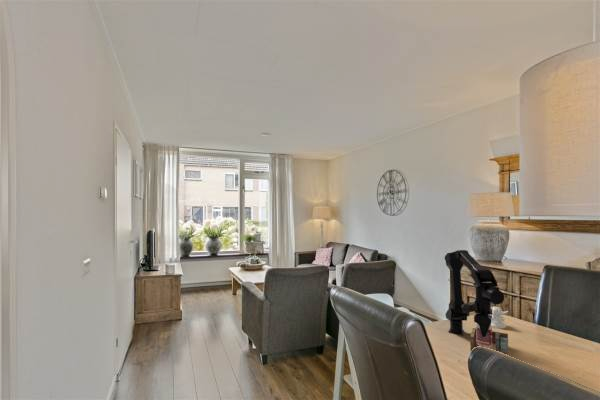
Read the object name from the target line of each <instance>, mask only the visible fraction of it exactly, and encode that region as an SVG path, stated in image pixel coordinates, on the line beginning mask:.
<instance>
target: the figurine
mask: <svg viewBox="0 0 600 400" xmlns="http://www.w3.org/2000/svg"><path fill="white" fill-rule="evenodd" d="M491 308H492V318H491V326H492V328H495V329H505V328H507V325H506V323H505V322H504V321H505V318H504V316H503V315H506V314H508V312H509V310H506V311H503V309H502V308H501V307H500V306H491ZM488 315H489V314H488Z"/></svg>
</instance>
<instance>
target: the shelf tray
mask: <svg viewBox="0 0 600 400" xmlns="http://www.w3.org/2000/svg"><path fill="white" fill-rule="evenodd" d="M470 332H471V333H470V337H469V340H470V341H469V342H470V351H473V350H472V349H473V348H474V347H477V346H479V345H477V343H476V327H475V328H474V327H473V328H471V331H470ZM492 342H493V346H492V347H489V348H490V349H493V350H496V351H499V352H502V353H504V354H507V355H509V333H506V332H499V331H494V330H492Z"/></svg>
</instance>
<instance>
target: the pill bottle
mask: <svg viewBox="0 0 600 400" xmlns="http://www.w3.org/2000/svg"><path fill="white" fill-rule="evenodd" d="M475 329H476V343H477V345H479V346H481V347H486V348H489V347H492V346H493V342H492V331H493V327H492V326H491V325H490V327H489V329H488V332H487V334H486V336H485V337H482V334H481V330H480V327H479V324H477V323H476V324H475Z"/></svg>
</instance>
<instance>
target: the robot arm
mask: <svg viewBox="0 0 600 400" xmlns="http://www.w3.org/2000/svg"><path fill="white" fill-rule="evenodd" d="M444 261H445V265H446V267H447V268H448V269H449V276H450V291H451V300H450V301H449V303H448V309H447V310H446V312H445V318H446V319H447V320H448V321H449V329H448V333H450V332H451V334H458V335H464V332H465V330H464V329H463V321H467V320H468V315H469V313H472V312H474V313H475V314H474V316H473V322H474V323H476V324H479V327H480V330H481V334H482V337H485V336H486V334H487V332H488V329H489V327H490V325H491V318H492V308H491V307H492V304H494V305H500V304H503V303H504V302H505V301H504V300H505V294H504V293H503V292H502V291H501V290H500V287H499V285H498V282H497V279H496V278H495V276H494V274H493V272H492V270H491V269H489V268H488V267H487V266H484V265H481V264H479V262H478V261H477V260H476V259H475V258H474V257H473V256H472V255H470V253H469V251H468V250H466V249H457V250H455V251H452V252H447V253H446V254H445V256H444ZM464 266H465V267H466V268H467V269H468V270H469V272H470V276H471V279H472V280H473V281H474V283H473V284H472V286H474V287H475V299H474V301H473V302H472V301H471V302H466V303H465V302H464V300H463V289H462V275H461V270H462V268H463V267H464ZM488 314H489V315H488Z"/></svg>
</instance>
